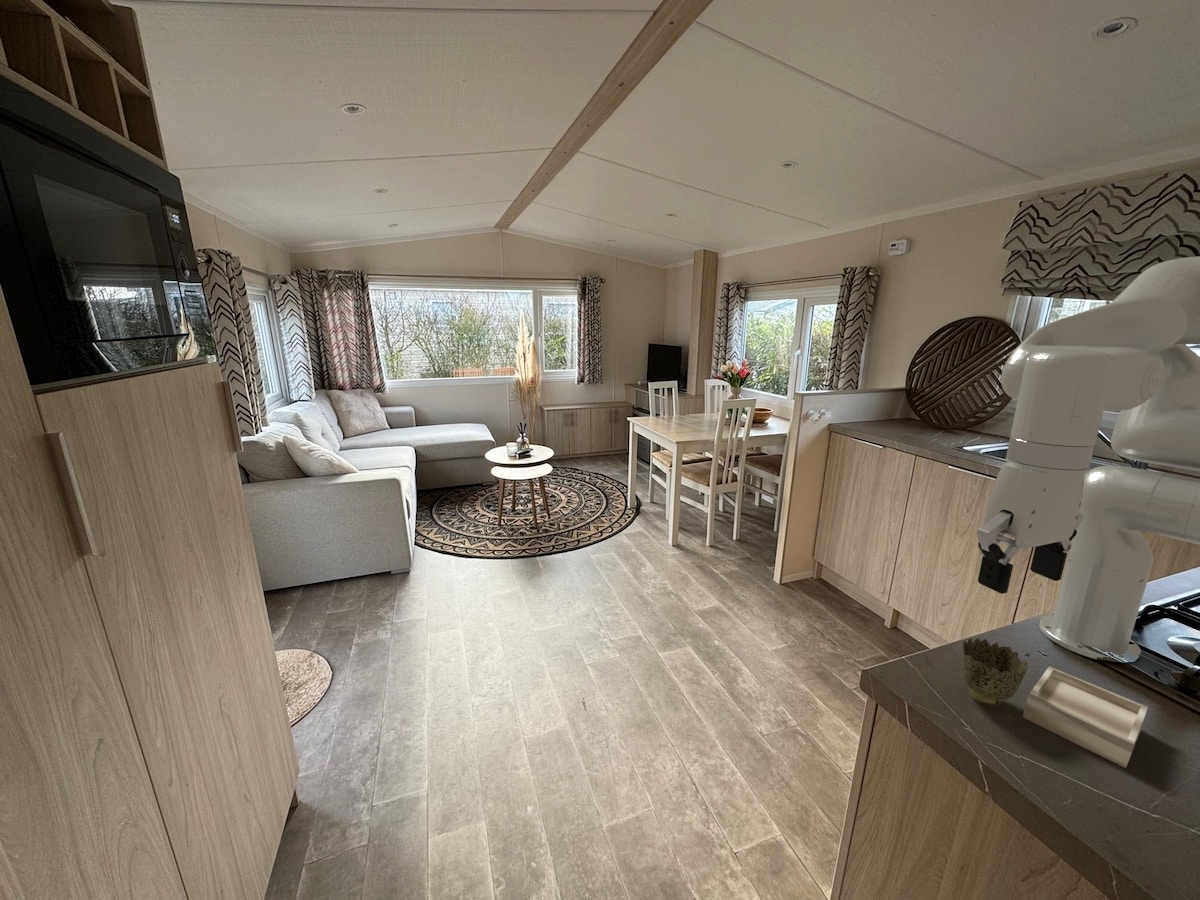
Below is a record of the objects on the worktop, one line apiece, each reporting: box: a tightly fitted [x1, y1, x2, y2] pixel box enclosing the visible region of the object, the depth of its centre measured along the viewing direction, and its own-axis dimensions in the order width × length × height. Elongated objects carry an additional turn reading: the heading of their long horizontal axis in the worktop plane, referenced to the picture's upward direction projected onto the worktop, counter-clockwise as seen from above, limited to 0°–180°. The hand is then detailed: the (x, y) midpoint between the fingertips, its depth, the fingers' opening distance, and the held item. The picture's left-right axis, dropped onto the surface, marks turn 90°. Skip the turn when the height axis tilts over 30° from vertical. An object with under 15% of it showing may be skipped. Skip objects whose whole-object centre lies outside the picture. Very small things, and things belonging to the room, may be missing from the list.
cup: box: [961, 637, 1029, 708], centre depth 71 cm, size 8×7×8 cm
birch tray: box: [1022, 665, 1149, 769], centre depth 67 cm, size 10×10×4 cm
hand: (1018, 581), depth 62 cm, fingers open, 9 cm apart
